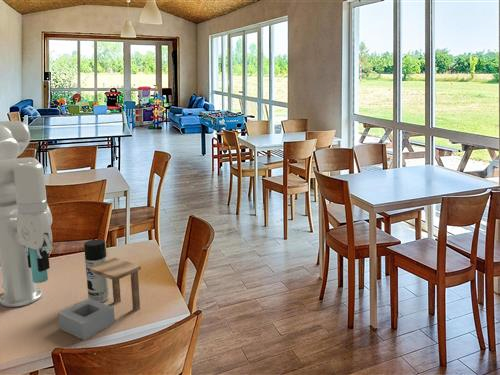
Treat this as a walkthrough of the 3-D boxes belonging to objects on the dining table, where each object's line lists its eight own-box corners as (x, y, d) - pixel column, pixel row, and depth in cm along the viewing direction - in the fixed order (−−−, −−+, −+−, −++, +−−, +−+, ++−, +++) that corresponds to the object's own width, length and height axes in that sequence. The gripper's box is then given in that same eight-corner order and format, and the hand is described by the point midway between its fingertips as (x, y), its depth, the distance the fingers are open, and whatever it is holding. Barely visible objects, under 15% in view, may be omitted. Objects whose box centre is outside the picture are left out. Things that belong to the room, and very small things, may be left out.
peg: (29, 280, 129) (25, 241, 127) (42, 275, 133) (38, 237, 130) (38, 284, 127) (33, 244, 124) (50, 279, 131) (46, 240, 128)
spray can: (84, 299, 149) (79, 242, 145) (102, 292, 155) (97, 237, 150) (96, 305, 145) (91, 247, 141) (113, 298, 151) (109, 241, 146)
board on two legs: (92, 311, 142) (89, 268, 139) (117, 298, 150) (114, 257, 147) (118, 321, 136) (115, 277, 132) (143, 308, 144) (140, 265, 140)
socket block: (59, 328, 132) (58, 313, 131) (91, 312, 141) (89, 298, 140) (84, 340, 126) (82, 323, 125) (115, 322, 135) (113, 307, 134)
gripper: (2, 205, 126) (10, 265, 131) (37, 215, 117) (44, 280, 122) (27, 199, 132) (34, 257, 137) (63, 208, 123) (68, 270, 128)
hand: (39, 267), depth 129 cm, fingers closed on peg, 4 cm apart
